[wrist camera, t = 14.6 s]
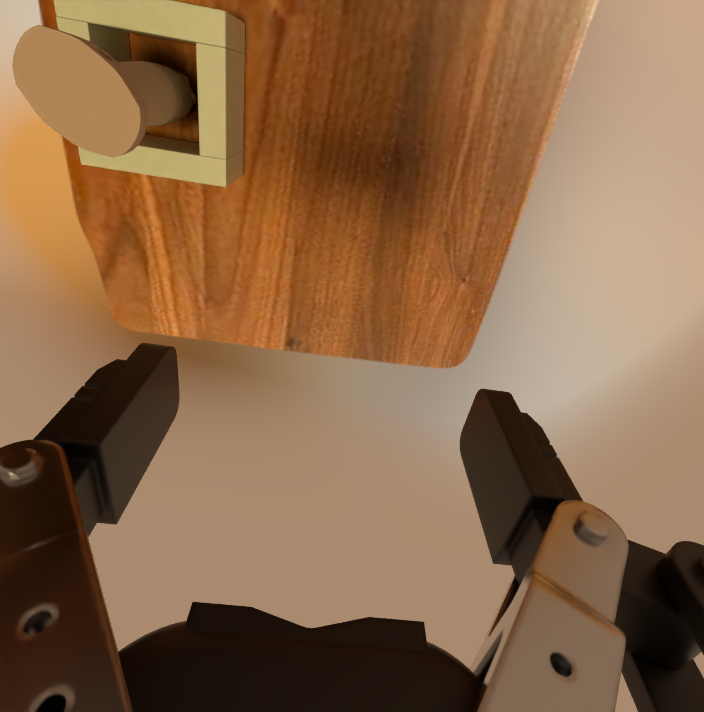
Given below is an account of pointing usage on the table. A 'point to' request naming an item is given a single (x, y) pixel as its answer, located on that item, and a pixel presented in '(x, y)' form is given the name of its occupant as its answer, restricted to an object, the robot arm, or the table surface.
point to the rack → (214, 82)
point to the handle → (96, 91)
